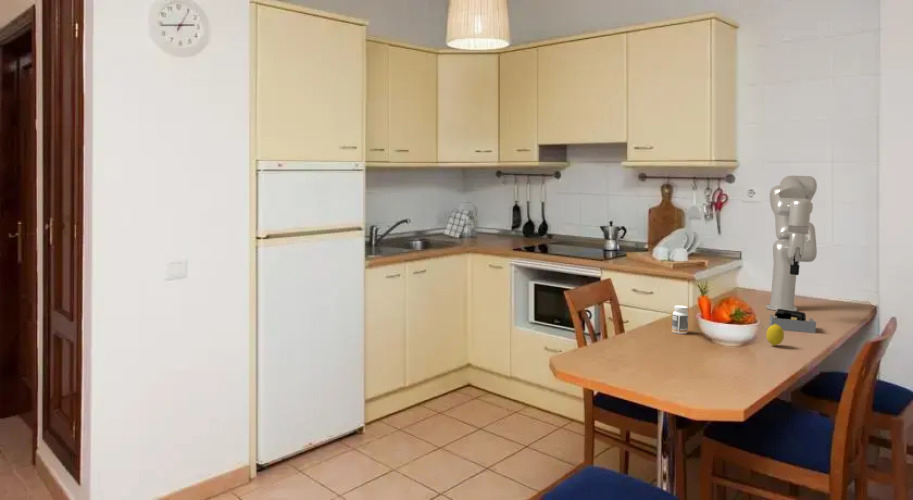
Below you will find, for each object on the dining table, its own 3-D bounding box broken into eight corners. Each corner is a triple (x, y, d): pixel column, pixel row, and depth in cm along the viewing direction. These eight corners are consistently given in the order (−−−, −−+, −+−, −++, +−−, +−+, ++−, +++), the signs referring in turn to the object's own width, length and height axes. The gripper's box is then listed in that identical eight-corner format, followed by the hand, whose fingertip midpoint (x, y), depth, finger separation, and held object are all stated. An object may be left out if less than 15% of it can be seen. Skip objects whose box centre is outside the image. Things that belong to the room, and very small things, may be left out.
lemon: (762, 344, 242) (764, 321, 241) (777, 344, 243) (779, 322, 242) (770, 348, 237) (772, 325, 236) (786, 348, 237) (788, 325, 236)
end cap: (805, 328, 270) (806, 311, 269) (799, 331, 265) (801, 314, 264) (778, 324, 277) (780, 307, 276) (772, 326, 271) (774, 310, 271)
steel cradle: (769, 323, 276) (770, 311, 275) (811, 327, 271) (812, 314, 270) (771, 328, 267) (772, 315, 266) (815, 333, 262) (816, 319, 261)
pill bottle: (687, 331, 258) (689, 305, 257) (687, 335, 253) (689, 308, 251) (671, 330, 260) (673, 304, 259) (671, 333, 254) (672, 307, 253)
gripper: (786, 227, 286) (782, 271, 289) (789, 231, 272) (785, 276, 275) (806, 229, 283) (802, 272, 286) (810, 232, 270) (806, 278, 272)
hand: (794, 274), depth 280 cm, fingers closed
